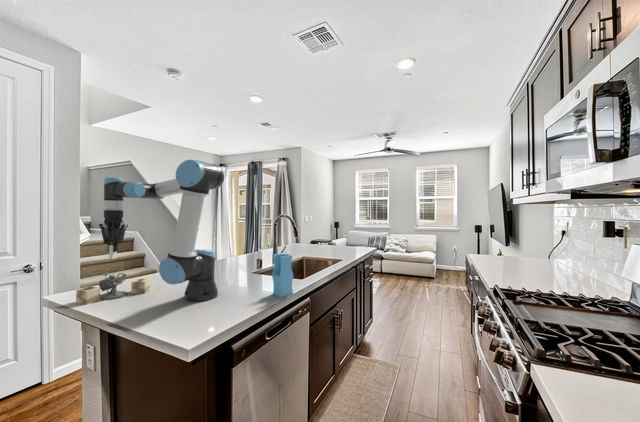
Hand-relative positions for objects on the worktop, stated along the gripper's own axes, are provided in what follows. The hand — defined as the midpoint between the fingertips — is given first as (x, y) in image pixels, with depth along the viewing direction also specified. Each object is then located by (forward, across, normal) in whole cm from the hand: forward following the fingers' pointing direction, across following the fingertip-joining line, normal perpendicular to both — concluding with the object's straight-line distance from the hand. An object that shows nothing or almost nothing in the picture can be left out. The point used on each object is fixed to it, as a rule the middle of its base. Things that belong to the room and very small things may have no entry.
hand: (112, 258), depth 132 cm
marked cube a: (+19, -8, -8) cm, 22 cm away
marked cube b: (+19, +4, +8) cm, 21 cm away
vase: (+18, -81, -12) cm, 84 cm away
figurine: (+19, 0, 0) cm, 19 cm away
